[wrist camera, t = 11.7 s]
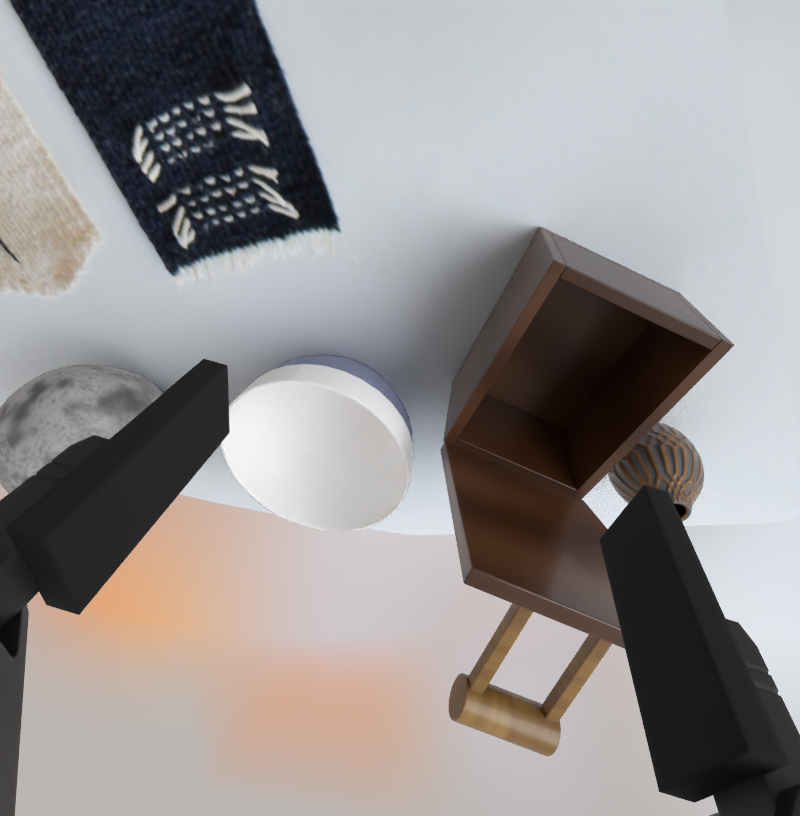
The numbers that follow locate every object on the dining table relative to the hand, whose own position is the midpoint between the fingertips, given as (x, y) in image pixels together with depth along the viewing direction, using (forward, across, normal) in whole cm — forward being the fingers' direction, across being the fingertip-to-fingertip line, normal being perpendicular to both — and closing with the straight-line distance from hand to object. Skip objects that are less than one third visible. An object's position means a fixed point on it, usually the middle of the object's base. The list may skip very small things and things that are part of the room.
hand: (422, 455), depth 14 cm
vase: (+24, +20, -12) cm, 33 cm away
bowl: (+24, -7, -17) cm, 30 cm away
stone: (+24, -29, -24) cm, 44 cm away
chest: (+24, +9, -5) cm, 26 cm away
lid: (+7, +9, -9) cm, 14 cm away
